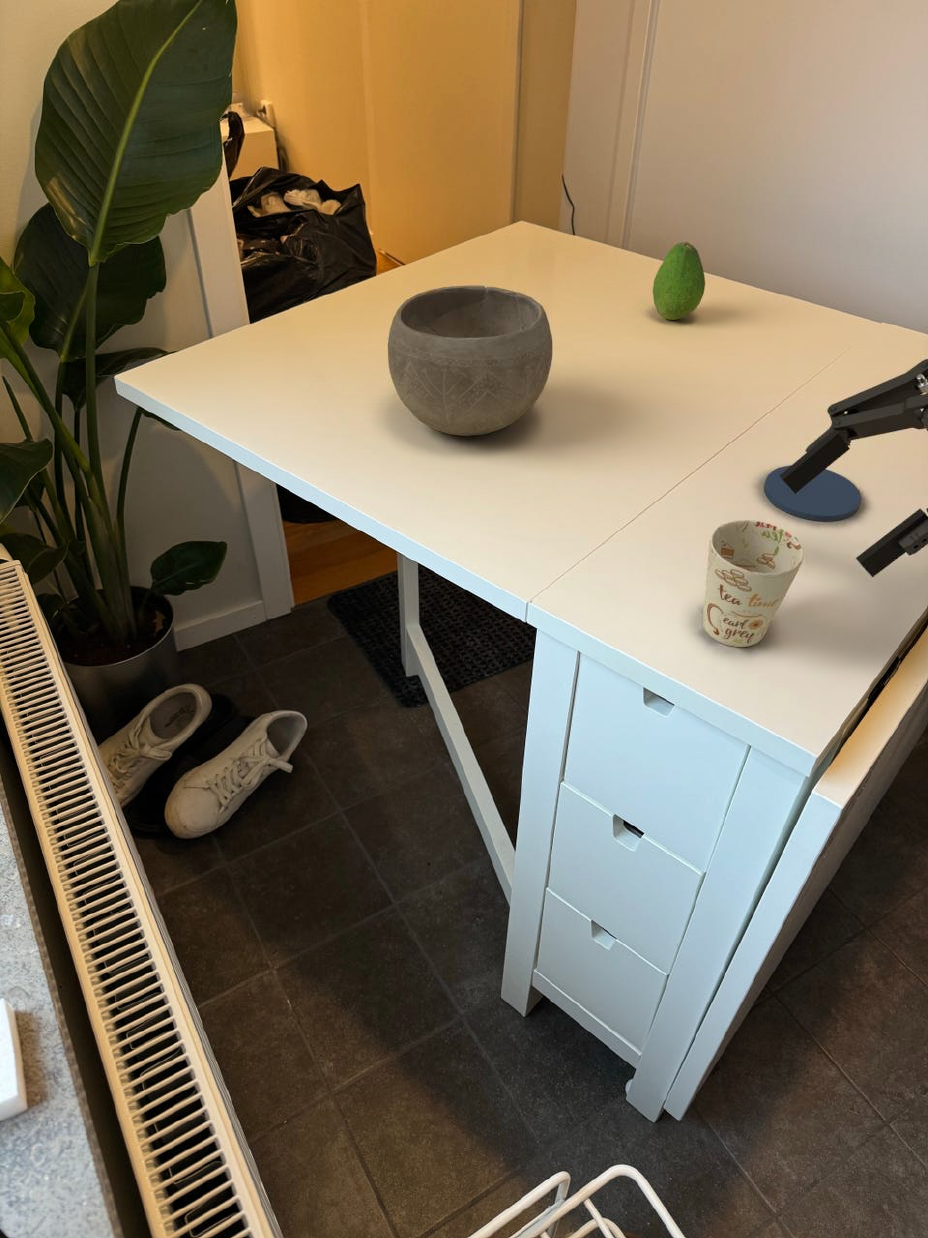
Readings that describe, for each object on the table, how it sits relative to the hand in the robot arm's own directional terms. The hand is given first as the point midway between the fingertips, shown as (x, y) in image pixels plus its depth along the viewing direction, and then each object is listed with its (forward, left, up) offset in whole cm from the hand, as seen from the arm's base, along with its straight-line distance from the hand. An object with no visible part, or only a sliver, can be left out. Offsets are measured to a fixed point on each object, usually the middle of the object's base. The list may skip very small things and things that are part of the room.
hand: (822, 524), depth 84 cm
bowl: (+49, +10, -11) cm, 51 cm away
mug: (+1, +5, -11) cm, 12 cm away
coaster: (+15, -17, -11) cm, 25 cm away
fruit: (+63, -36, -11) cm, 73 cm away
